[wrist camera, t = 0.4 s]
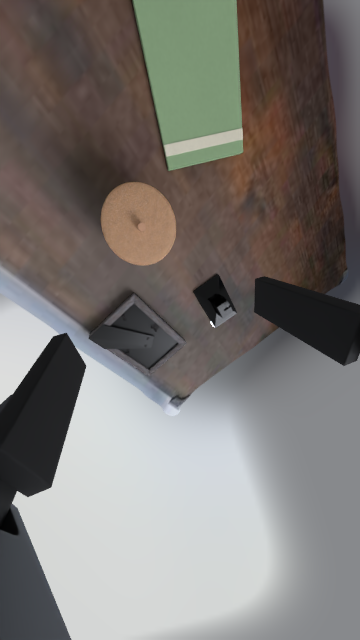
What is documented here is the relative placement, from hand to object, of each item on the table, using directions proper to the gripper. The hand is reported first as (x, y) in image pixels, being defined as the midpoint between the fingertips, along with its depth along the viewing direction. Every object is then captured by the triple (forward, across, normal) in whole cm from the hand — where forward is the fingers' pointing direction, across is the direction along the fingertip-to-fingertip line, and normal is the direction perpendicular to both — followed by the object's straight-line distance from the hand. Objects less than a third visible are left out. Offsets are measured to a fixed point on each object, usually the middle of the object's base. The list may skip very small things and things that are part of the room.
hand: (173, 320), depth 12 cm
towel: (+26, +15, +24) cm, 39 cm away
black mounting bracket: (+26, +15, -13) cm, 33 cm away
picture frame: (+26, -5, -16) cm, 31 cm away
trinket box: (+26, +1, +6) cm, 27 cm away
